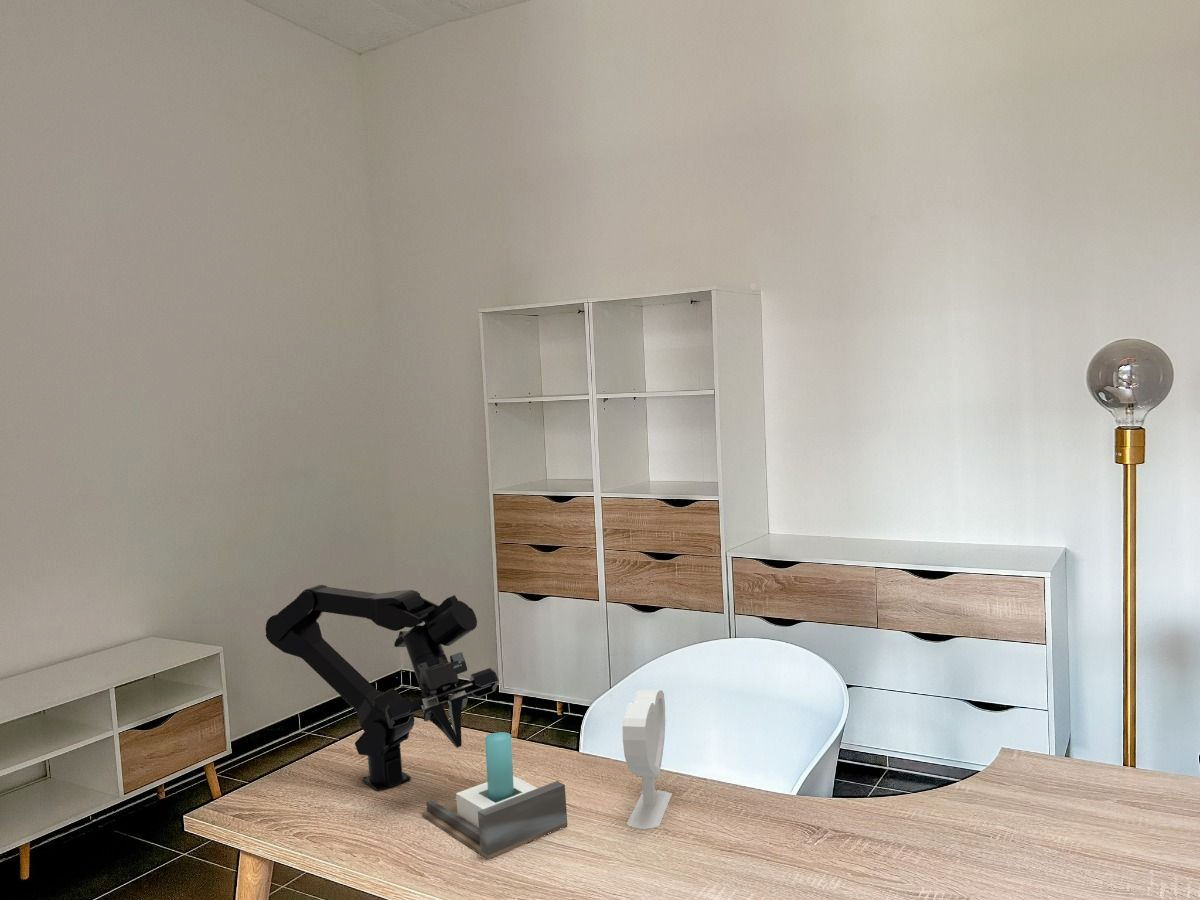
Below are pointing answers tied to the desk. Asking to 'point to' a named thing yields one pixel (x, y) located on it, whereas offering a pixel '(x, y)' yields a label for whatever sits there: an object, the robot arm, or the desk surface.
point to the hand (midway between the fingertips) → (459, 746)
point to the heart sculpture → (646, 754)
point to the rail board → (505, 820)
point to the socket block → (483, 799)
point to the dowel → (499, 766)
